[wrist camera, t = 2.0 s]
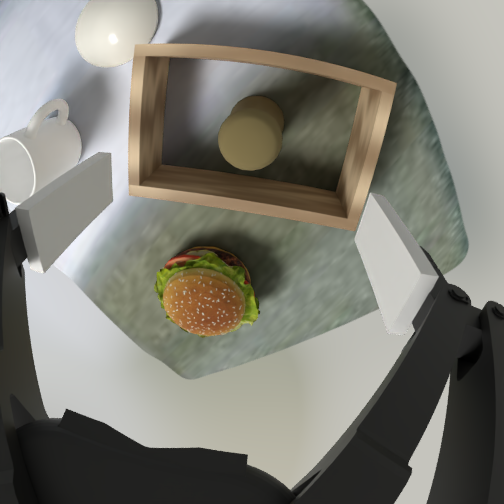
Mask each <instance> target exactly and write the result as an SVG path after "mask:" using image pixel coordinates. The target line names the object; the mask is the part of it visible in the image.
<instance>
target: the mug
mask: <svg viewBox="0 0 504 504" xmlns="http://www.w3.org/2000/svg"><path fill="white" fill-rule="evenodd" d="M55 110H59V113H58V117H52V118H49V119H46V120H44V119H45V118H46V117H47V116H48V115H49V114H50V113H51V112H53V111H55ZM68 114H69V107H68V104H67V102H66V101H65V100H62V99H54V100H51V101H49V102H47V103H46V104H44V105H43V106H42V107H41V108H40V109H39V110H38V111H37V112H36V113H35V114H34V116H33V117H32V119H31V120H30V122H29V124H28V126H27V127H26V128H23V129H21V130H19V131H16V132H14V133H12V134H10V135H7V136H5V137H3V138H1V139H0V193H4V194H5V196H6V200H8V201H9V202H11V203H13V204H17V205H20V204H21V203H22V202H24V201H25V200H26V199H28V198H29V197H31V196H32V195H33V194H35V193H36V192H37V191H39V190H40V189H42V188H43V187H45V186H46V185H48V184H49V183H50V182H52V181H53V180H55V179H56V178H58V177H59V176H61V175H63V174H64V173H66V172H67V171H69V170H70V169H72V168H73V167H75V166H76V165H77V163H78V161H79V159H80V156H81V150H82V143H81V137H80V134H79V132H78V130H77V128H76V127H75V125H74V124H73V123H72V122H71V121H69V120H68V119H67V118H68Z"/></svg>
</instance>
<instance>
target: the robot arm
mask: <svg viewBox="0 0 504 504" xmlns="http://www.w3.org/2000/svg"><path fill="white" fill-rule="evenodd" d="M112 202H113V192H112V168H111V153H104V152H98V153H97V154H95V155H93V156H92V157H90V158H88V159H87V160H85V161H83V162H82V163H80V164H78V165H77V166H75V167H73V168H72V169H70V170H69V171H67V172H66V173H64V174H63V175H61V176H59V177H58V178H56V179H55V180H53V181H52V182H50V183H49V184H48V185H46V186H45V187H43V188H42V189H40V190H39V191H37V192H36V193H35V194H33V195H32V196H31V197H29V198H28V199H26V200H25V201H24V202H22V203H21V204H20V205H18V206H17V207H16V208H15V210H13V211H12V212H11V213H10V214H9V212H8V207H7V202H6V196H5V194H4V193H0V504H394V503H395V501H396V499H397V498H398V496H399V495H400V493H401V492H402V490H403V488H404V487H405V485H406V483H407V482H408V480H409V478H410V476H411V473H412V468H411V467H410V466H408V462H409V460H410V458H411V456H412V454H413V452H414V451H415V449H416V447H417V445H418V443H419V441H420V440H421V438H422V436H423V434H424V432H425V430H426V428H427V425H428V424H429V422H430V419H431V417H432V415H433V413H434V411H435V409H436V406H437V404H438V402H439V399H440V397H441V395H442V392H443V390H444V387H445V385H446V382H447V379H448V377H449V374H450V385H449V395H448V405H447V412H446V419H445V425H444V431H443V437H442V443H441V448H440V453H439V458H438V462H437V467H436V471H435V475H434V479H433V483H432V487H431V490H430V494H429V497H428V500H427V504H504V307H503V306H502V305H501V304H498V303H496V302H494V301H488V302H487V303H486V305H485V306H484V308H483V309H482V310H481V309H478V308H476V307H473V306H471V300H470V298H469V296H468V295H467V294H466V293H465V292H464V291H463V290H462V289H461V288H459V287H457V286H455V285H452V284H448V283H447V281H446V280H445V278H444V276H443V275H442V273H441V272H440V270H439V269H438V268H437V265H436V264H435V262H434V261H433V259H432V258H431V256H430V255H429V253H428V252H427V251H425V250H424V249H423V248H422V247H421V246H419V245H418V243H417V242H416V240H415V239H414V237H413V236H412V234H411V233H410V231H409V230H408V228H407V227H406V226H405V224H404V223H403V221H402V220H401V219H400V217H399V216H398V214H397V213H396V212H395V210H394V209H393V207H392V206H391V205H390V203H389V202H388V201H387V199H386V198H385V197H384V196H383V195H379V194H375V193H371V192H370V194H369V198H368V201H367V204H366V207H365V210H364V213H363V216H362V219H361V222H360V225H359V228H358V231H357V233H356V236H355V239H354V240H355V243H356V245H357V248H358V250H359V253H360V255H361V258H362V261H363V263H364V266H365V269H366V271H367V274H368V277H369V280H370V283H371V285H372V288H373V291H374V294H375V297H376V300H377V303H378V306H379V309H380V312H381V315H382V318H383V321H384V324H385V327H386V330H387V333H389V334H400V335H405V333H406V332H407V330H408V329H409V327H410V325H411V324H413V327H414V329H415V332H414V333H413V335H412V337H411V338H410V339H409V341H408V342H407V344H406V346H405V347H404V348H403V350H402V353H401V355H400V356H399V358H398V359H397V361H396V362H395V364H394V366H393V367H392V369H391V370H390V372H389V373H388V375H387V376H386V378H385V379H384V381H383V382H382V384H381V385H380V387H379V388H378V389H377V391H376V392H375V393H374V395H373V396H372V398H371V399H370V400H369V402H368V403H367V405H366V406H365V407H364V409H363V410H362V411H361V412H360V414H359V415H358V416H357V418H356V419H355V421H354V422H353V423H352V424H351V425H350V427H349V428H348V429H347V430H346V432H345V433H344V434H343V435H342V436H341V438H340V439H339V440H338V441H337V442H336V444H335V445H334V446H333V447H332V448H331V449H330V450H329V452H328V453H327V454H326V455H325V456H324V457H323V459H321V461H320V462H319V463H318V464H317V465H316V466H315V467H314V468H313V469H312V470H311V471H310V472H309V473H308V474H307V475H306V476H305V477H304V478H303V479H302V480H301V481H299V482H298V483H297V484H296V485H295V486H294V487H293V488H292V489H291V490H289V489H288V488H287V487H286V486H285V485H284V484H283V483H281V482H280V481H279V480H277V479H276V478H274V477H273V476H271V475H269V474H268V473H266V472H264V471H262V470H260V469H257V468H255V467H252V466H250V465H247V456H248V455H245V454H238V453H230V452H223V451H217V450H211V449H205V448H149V447H145V446H143V445H141V444H139V443H137V442H136V441H134V440H132V439H130V438H128V437H127V436H125V435H123V434H122V433H120V432H118V431H117V430H115V429H113V428H112V427H110V426H109V425H107V424H105V423H103V422H100V421H97V420H94V419H92V418H89V417H86V416H84V415H81V414H78V413H76V412H73V411H71V410H68V409H66V411H65V413H64V415H63V417H62V418H49V417H48V415H47V414H46V411H45V409H44V405H43V402H42V398H41V393H40V389H39V385H38V381H37V375H36V371H35V365H34V360H33V354H32V348H31V341H30V335H29V326H28V317H27V306H26V293H25V272H24V268H23V265H22V262H23V261H24V260H25V259H26V258H27V259H28V262H29V265H30V269H31V270H33V271H36V272H40V273H45V272H46V271H47V270H48V269H49V267H50V266H51V265H52V264H53V263H54V262H55V261H56V259H57V258H58V257H59V256H60V255H61V254H62V253H63V252H64V251H65V249H66V248H67V247H68V246H69V245H70V244H71V243H72V242H73V241H74V240H75V239H76V238H77V237H78V236H79V234H80V233H81V232H82V231H83V230H84V229H85V228H86V227H87V226H88V225H89V224H90V223H91V222H92V221H93V220H94V219H95V218H96V217H97V216H98V215H99V214H100V213H101V212H102V211H103V210H104V209H105V208H106V207H107V206H108V205H110V204H111V203H112Z"/></svg>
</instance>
